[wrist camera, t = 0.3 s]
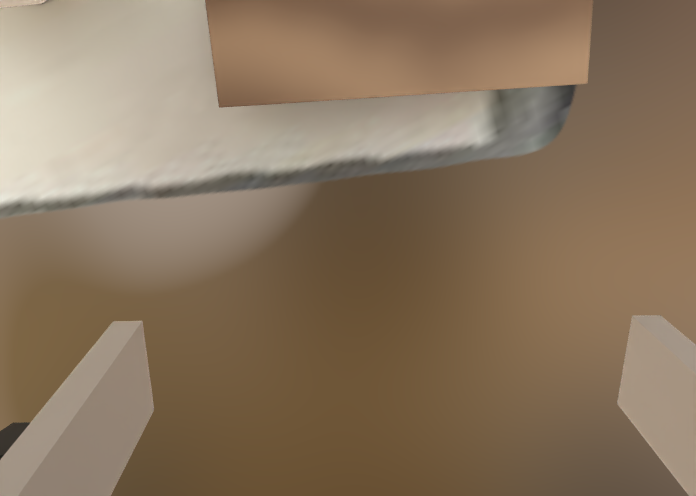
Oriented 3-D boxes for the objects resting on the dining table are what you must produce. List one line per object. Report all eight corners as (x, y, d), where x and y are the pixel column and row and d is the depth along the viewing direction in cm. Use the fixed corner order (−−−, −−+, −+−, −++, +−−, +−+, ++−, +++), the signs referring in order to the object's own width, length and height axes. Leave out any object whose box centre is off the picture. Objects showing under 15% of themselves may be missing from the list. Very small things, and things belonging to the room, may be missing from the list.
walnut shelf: (242, -46, 37) (193, -94, 24) (512, -64, 36) (601, -121, 24) (256, 89, 39) (219, 107, 27) (509, 73, 39) (587, 83, 27)
